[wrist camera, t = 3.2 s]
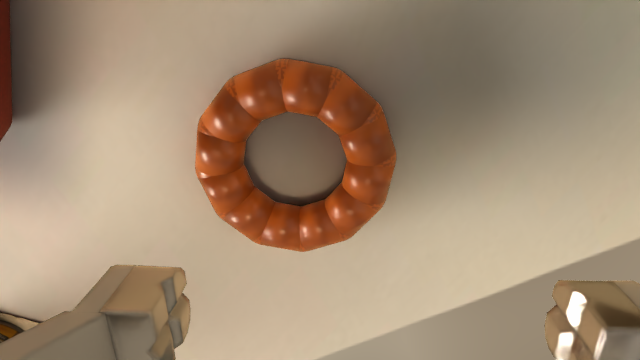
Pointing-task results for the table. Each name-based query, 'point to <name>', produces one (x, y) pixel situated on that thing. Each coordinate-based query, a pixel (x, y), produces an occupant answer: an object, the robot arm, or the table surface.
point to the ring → (309, 99)
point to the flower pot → (5, 69)
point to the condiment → (13, 326)
